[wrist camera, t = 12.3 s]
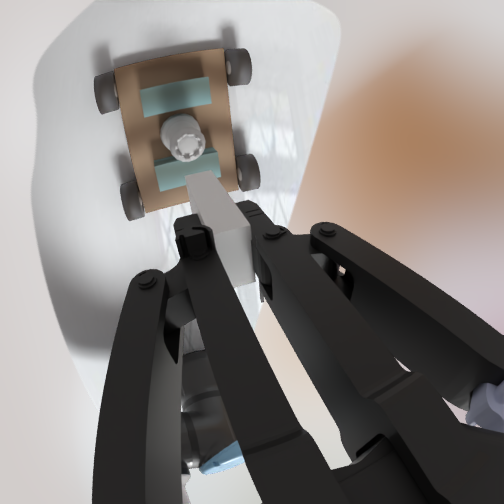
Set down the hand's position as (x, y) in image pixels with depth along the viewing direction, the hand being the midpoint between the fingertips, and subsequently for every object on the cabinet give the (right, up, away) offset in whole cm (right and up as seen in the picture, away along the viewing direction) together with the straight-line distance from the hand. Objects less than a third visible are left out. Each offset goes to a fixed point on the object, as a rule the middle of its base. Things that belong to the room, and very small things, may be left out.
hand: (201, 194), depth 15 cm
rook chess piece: (-5, +10, +13) cm, 17 cm away
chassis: (-6, +11, +14) cm, 18 cm away
